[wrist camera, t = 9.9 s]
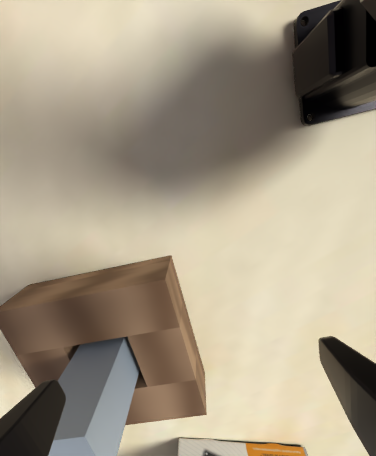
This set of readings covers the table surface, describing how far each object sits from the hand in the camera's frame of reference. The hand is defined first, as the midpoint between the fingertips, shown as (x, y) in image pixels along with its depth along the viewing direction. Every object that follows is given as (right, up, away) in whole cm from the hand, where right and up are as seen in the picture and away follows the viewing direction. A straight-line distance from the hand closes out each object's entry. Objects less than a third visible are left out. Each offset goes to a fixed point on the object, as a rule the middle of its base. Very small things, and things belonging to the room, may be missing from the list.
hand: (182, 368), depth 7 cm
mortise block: (-6, -6, +15) cm, 17 cm away
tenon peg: (-6, -6, +14) cm, 16 cm away
